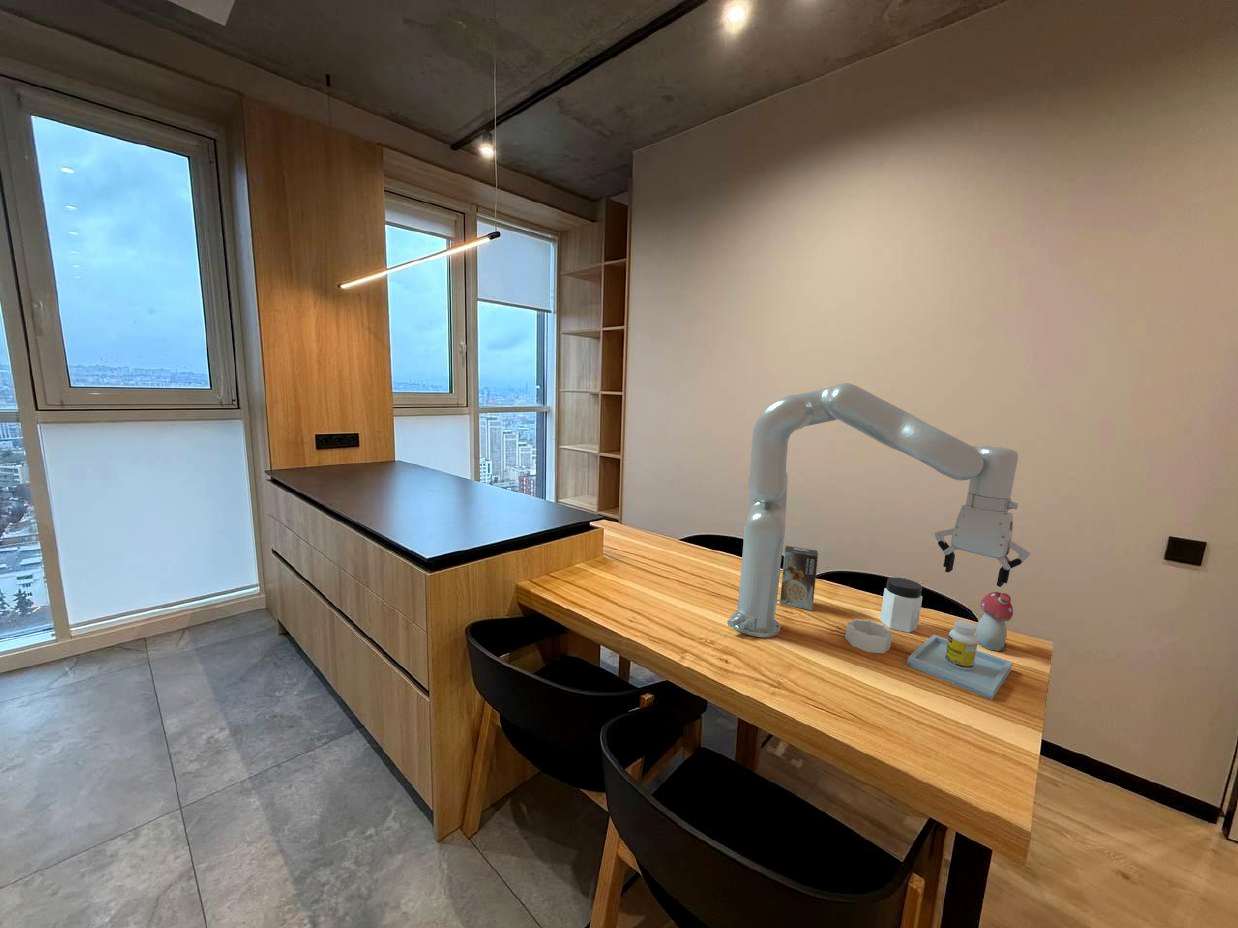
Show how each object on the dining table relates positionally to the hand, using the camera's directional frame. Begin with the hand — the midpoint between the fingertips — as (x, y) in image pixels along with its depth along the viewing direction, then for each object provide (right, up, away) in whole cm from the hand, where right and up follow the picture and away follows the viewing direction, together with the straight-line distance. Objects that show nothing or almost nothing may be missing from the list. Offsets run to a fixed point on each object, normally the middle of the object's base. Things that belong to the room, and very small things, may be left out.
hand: (973, 577), depth 110 cm
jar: (-3, -18, +24) cm, 30 cm away
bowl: (-17, -19, +12) cm, 29 cm away
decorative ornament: (+15, -21, +15) cm, 30 cm away
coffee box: (-28, -16, +34) cm, 46 cm away
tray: (-1, -21, +3) cm, 22 cm away
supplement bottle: (-1, -21, +3) cm, 21 cm away
